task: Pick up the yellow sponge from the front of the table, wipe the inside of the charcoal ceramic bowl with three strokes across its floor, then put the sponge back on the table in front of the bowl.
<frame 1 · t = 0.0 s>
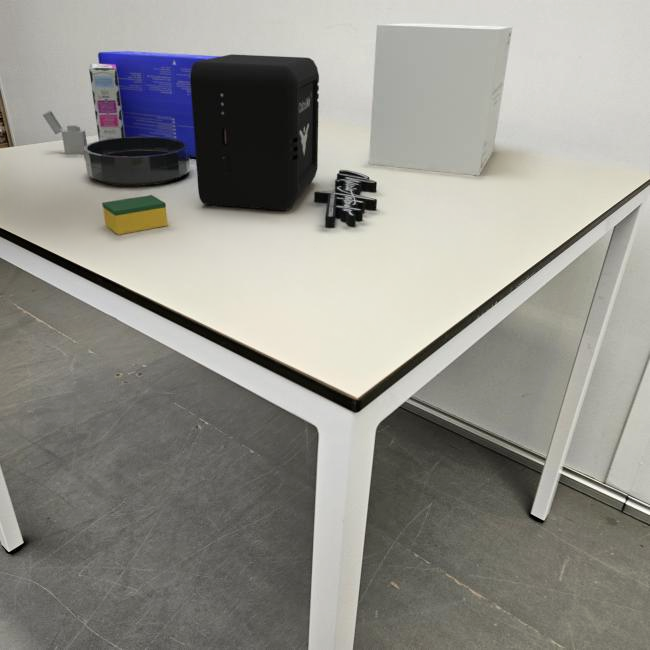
lighter: (69, 153, 121), on the table
bowl: (140, 174, 107), on the table
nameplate: (345, 201, 96), on the table
blue box: (194, 154, 123), on the table
cube: (434, 157, 126), on the table
candy bar box: (114, 155, 120), on the table
sponge: (136, 225, 82), on the table
black computer case: (264, 195, 98), on the table
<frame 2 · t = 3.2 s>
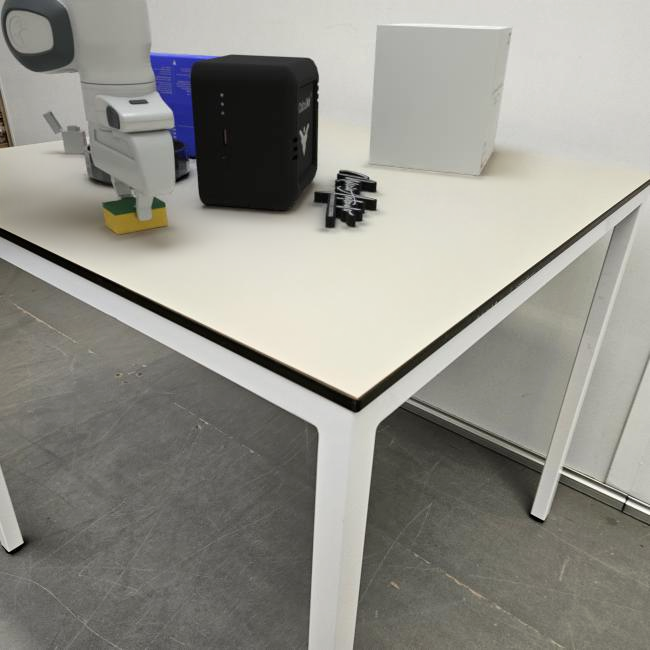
hand: (135, 213, 82), 2 cm above the table, tool pointing down, fingers closed on sponge, 4 cm apart
sponge: (136, 225, 82), on the table, touching gripper
everything else where it was.
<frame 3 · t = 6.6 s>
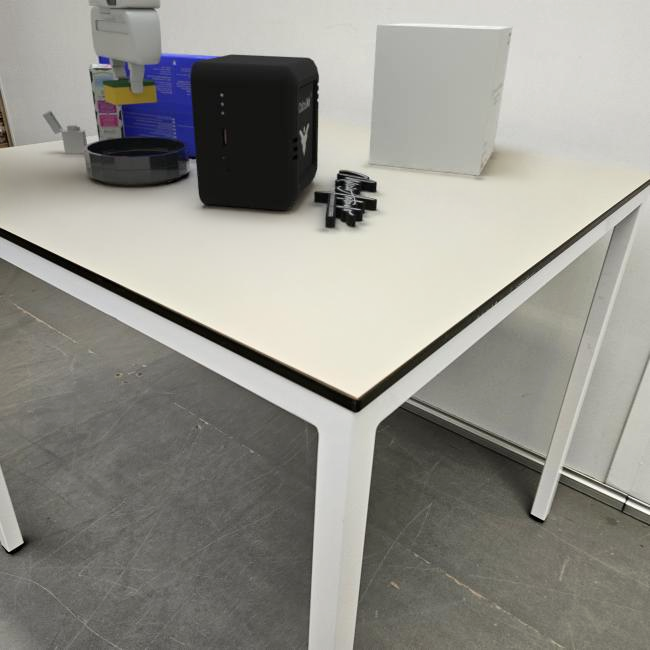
hand: (129, 90, 98), 14 cm above the table, tool pointing down, fingers closed on sponge, 4 cm apart
sponge: (131, 101, 99), point 13 cm above the table, touching gripper
everything else where it was.
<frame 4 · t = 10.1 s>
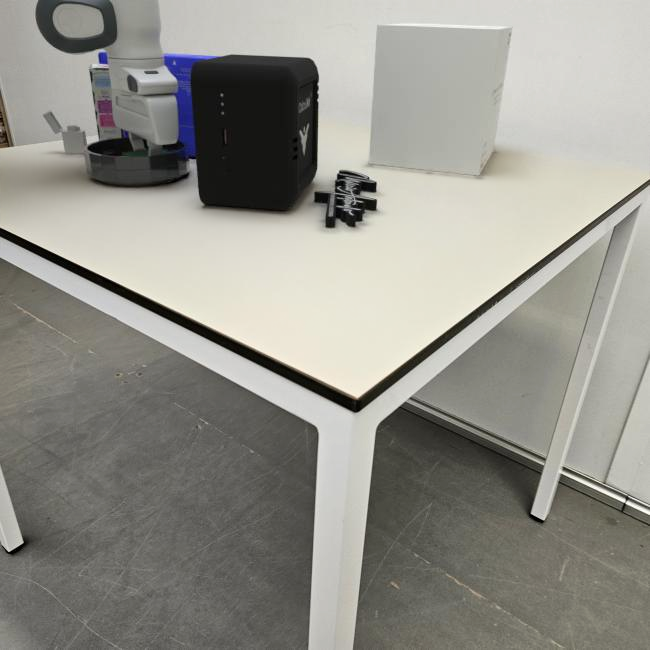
hand: (147, 162, 105), 2 cm above the table, tool pointing down, fingers closed on sponge, 4 cm apart
sponge: (148, 171, 106), point 1 cm above the table, touching gripper
everything else where it was.
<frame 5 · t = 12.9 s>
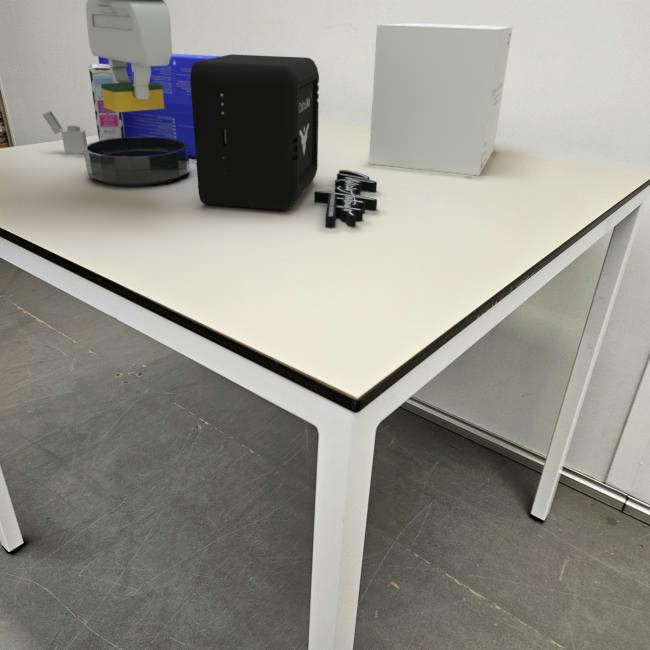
hand: (132, 96, 85), 15 cm above the table, tool pointing down, fingers closed on sponge, 4 cm apart
sponge: (134, 108, 86), point 14 cm above the table, touching gripper
everything else where it was.
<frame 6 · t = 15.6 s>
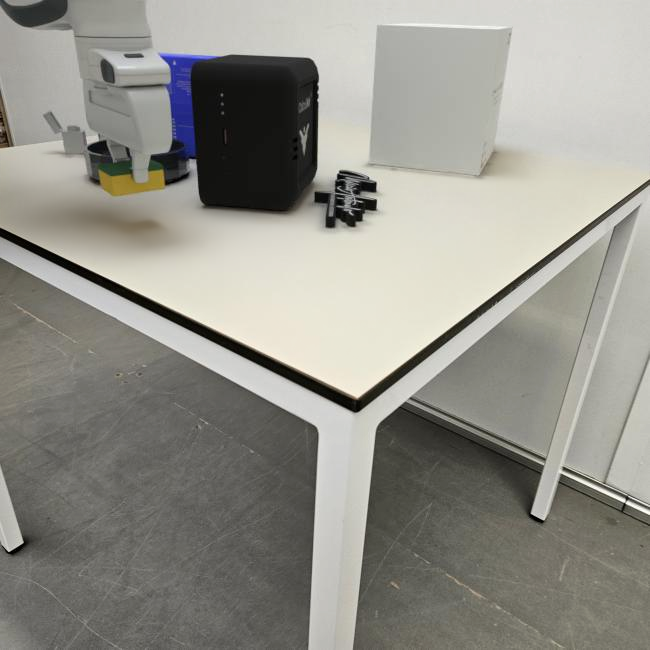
hand: (131, 176, 79), 7 cm above the table, tool pointing down, fingers closed on sponge, 4 cm apart
sponge: (133, 188, 80), point 5 cm above the table, touching gripper
everything else where it was.
when the fingers open (1 cm above the table, at t = 17.2 s): sponge stays where it is, on the table.
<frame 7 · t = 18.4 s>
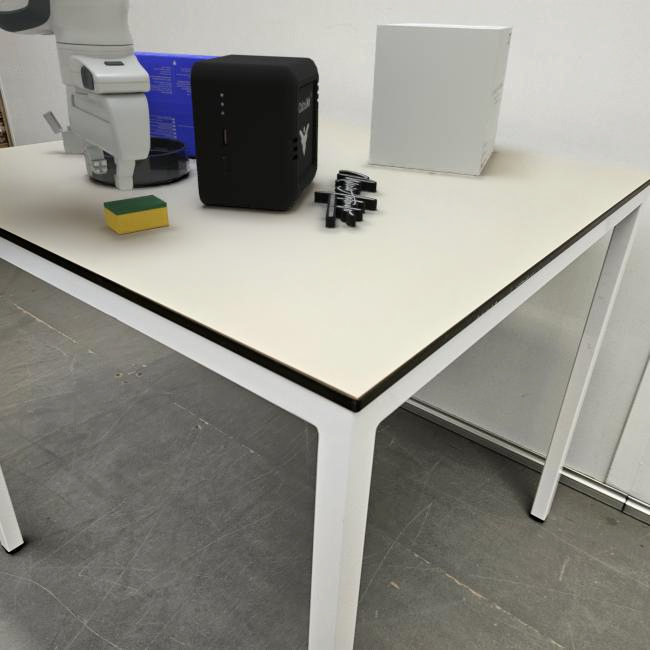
hand: (111, 180, 81), 6 cm above the table, tool pointing down, fingers open, 8 cm apart
sponge: (137, 225, 83), on the table
everything else where it was.
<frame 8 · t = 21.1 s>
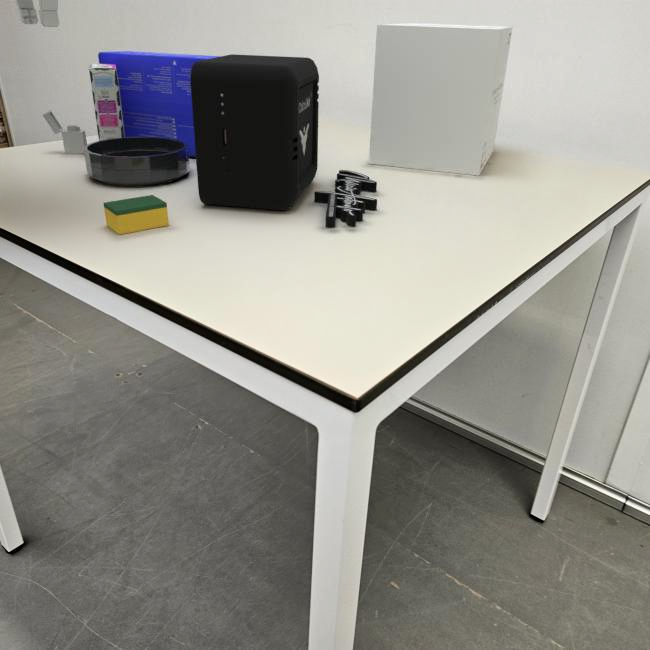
hand: (39, 25, 77), 24 cm above the table, tool pointing down, fingers open, 8 cm apart
nothing on the table moved.
at the end: sponge inside the target area on the table beside the bowl (0.2 cm from its centre), on the table; the gripper is holding nothing; sponge tilted 0° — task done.
